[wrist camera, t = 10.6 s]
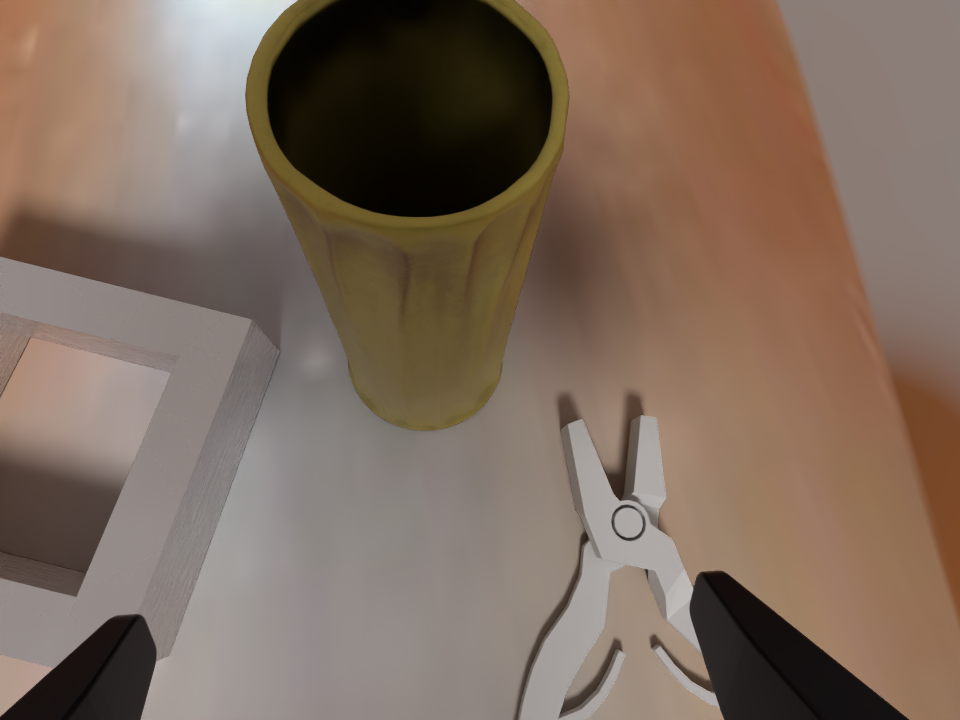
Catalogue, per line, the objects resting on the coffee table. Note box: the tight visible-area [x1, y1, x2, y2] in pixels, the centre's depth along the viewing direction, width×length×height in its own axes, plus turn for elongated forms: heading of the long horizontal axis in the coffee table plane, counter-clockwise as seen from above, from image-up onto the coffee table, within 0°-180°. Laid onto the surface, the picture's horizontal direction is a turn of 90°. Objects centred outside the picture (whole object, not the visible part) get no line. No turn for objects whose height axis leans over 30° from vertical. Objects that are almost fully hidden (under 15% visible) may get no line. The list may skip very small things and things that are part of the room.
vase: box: [245, 0, 569, 431], centre depth 16 cm, size 6×6×14 cm
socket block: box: [0, 257, 280, 668], centre depth 19 cm, size 11×11×4 cm
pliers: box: [518, 415, 720, 720], centre depth 20 cm, size 10×2×15 cm
